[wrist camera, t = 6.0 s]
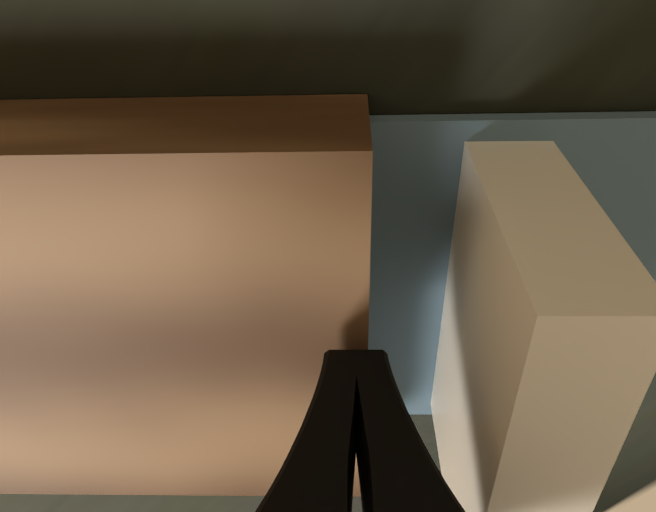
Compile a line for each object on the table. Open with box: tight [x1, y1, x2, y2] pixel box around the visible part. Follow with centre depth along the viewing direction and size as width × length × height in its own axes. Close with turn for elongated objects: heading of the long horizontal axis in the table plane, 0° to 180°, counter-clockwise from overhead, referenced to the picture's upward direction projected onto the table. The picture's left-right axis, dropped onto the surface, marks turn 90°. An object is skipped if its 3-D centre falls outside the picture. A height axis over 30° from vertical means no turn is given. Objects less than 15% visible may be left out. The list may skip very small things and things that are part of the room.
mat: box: [368, 111, 656, 414], centre depth 16 cm, size 10×8×1 cm
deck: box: [0, 94, 373, 497], centre depth 15 cm, size 11×14×3 cm
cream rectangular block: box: [431, 141, 656, 512], centre depth 13 cm, size 9×6×2 cm
